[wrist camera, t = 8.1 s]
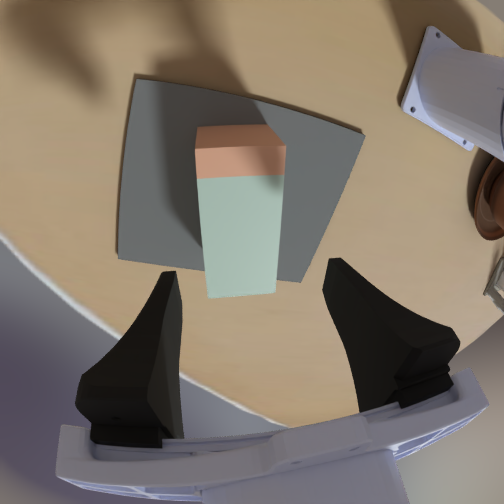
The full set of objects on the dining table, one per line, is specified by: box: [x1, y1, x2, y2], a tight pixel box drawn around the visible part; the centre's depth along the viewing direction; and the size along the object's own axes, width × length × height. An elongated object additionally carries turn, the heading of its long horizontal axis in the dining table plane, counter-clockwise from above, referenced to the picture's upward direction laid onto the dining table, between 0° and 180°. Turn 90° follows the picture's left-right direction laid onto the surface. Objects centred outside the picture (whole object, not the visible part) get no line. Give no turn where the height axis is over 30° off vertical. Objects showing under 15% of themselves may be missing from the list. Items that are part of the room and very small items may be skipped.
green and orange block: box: [195, 124, 286, 298], centre depth 19 cm, size 10×4×5 cm, turn 179°
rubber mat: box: [118, 79, 365, 283], centre depth 21 cm, size 16×14×1 cm
